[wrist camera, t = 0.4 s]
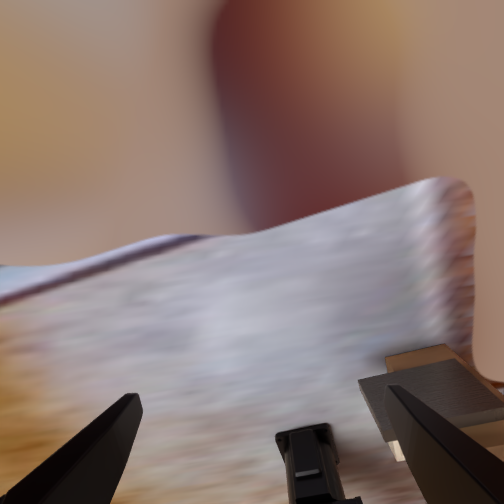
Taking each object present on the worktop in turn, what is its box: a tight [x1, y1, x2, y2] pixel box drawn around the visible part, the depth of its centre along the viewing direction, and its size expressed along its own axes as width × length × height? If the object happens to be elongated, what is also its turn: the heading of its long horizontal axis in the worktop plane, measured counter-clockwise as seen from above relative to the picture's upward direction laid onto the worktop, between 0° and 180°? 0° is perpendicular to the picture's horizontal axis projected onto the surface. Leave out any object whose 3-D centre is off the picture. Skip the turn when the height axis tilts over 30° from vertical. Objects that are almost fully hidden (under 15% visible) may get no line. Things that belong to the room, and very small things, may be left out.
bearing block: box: [385, 344, 504, 462], centre depth 20 cm, size 3×6×9 cm, turn 108°
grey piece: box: [358, 358, 504, 442], centre depth 19 cm, size 9×8×4 cm
